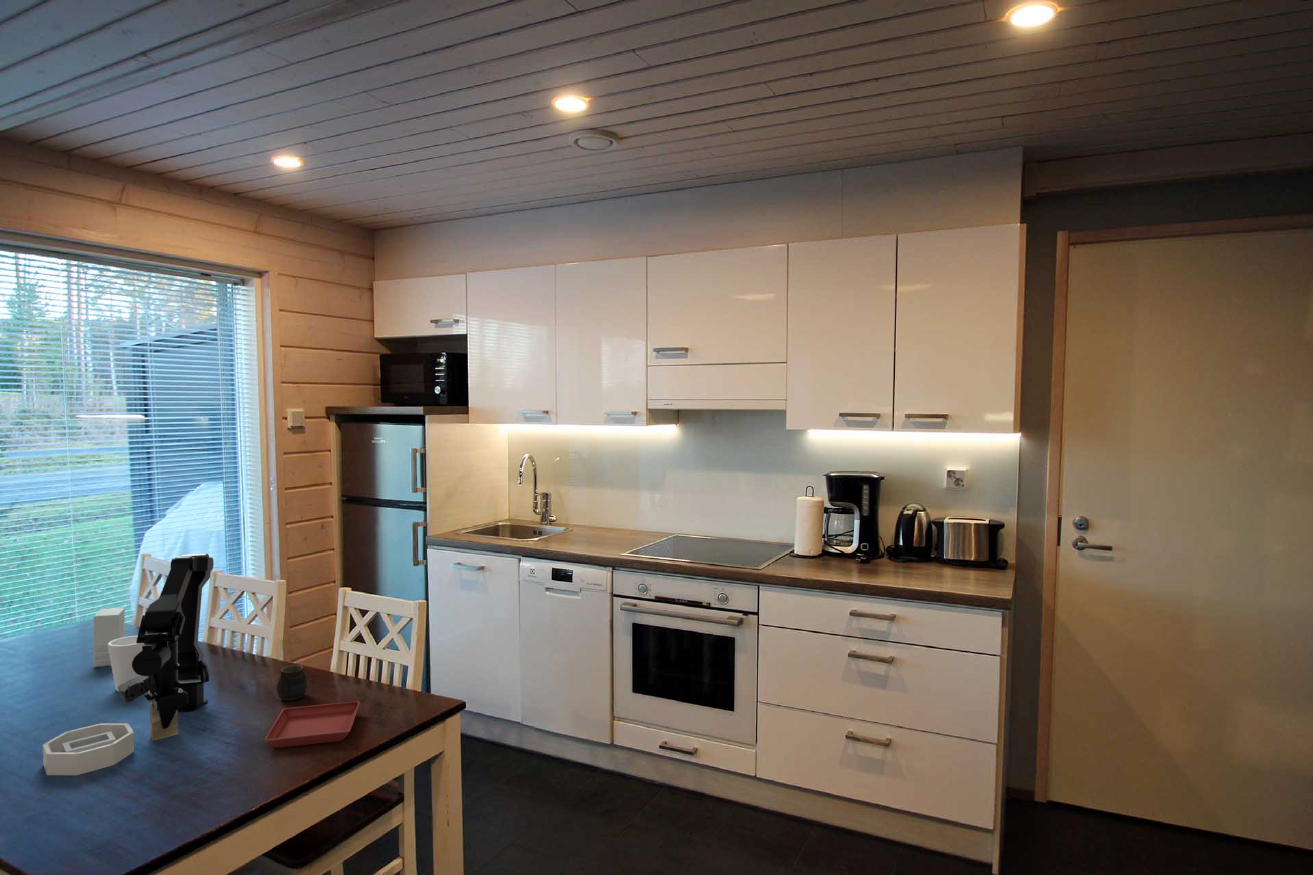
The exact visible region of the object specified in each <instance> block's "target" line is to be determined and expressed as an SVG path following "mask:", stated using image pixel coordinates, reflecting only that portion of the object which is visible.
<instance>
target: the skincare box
mask: <svg viewBox="0 0 1313 875" xmlns="http://www.w3.org/2000/svg"><path fill="white" fill-rule="evenodd" d="M125 610H126V609H125V607H123V606H122V607H114V608H102V609H99V610H98V612H97V613H96V614H94V615H93V668H100V667H107V666H111V661H110V655H109V653H108V643H109V642H111V641H113V640H115V639H119V638H123V637H126V636H125V635H126V632H125V627H126V626H125V624H126V623H125V620H126V618H125V614H126V612H125Z"/></svg>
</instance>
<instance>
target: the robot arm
mask: <svg viewBox="0 0 1313 875" xmlns="http://www.w3.org/2000/svg"><path fill="white" fill-rule="evenodd" d="M214 561H215V560H214V558H213V557H211V556H210V555H209V554H208V553H195V554H193V553H192V554H180V556H175V557H172V558H171V561H170V569H169V573H168V574H167V577H166V578H165V579H166V580H165V582H164V584H163V587H162V590H161V592H160V595H159V597H158V598H157V599H156V600H154V601H153V602H151V603H150V604H149V605H148V608H147V609H146V611H145V613H143V614H142V615H141V619H140V625H139V630H138V634H137V636H138V637H137V641H136V643H144V645H143V646H142V651H141V652H139V653H138V654H137V655H136V656H135V657H134V659H133V661H132V668H133V670H134V672H135V673H137V674H138V675H140V676H137V677H135V678H133V679H131V680H129V681H127V682H125V683H123V684H121V685H119V686H118V690H119V691H118V692H119V693H120V696H121V697H122V699H123V701H124V702H125V703H127V704H129V703H131V702H134V700H136V699H137V698H139V697H141V696H142V695H144V698H145V700H147V701H149V705H150V704H151V705H152V706H153V707H154V708H155V709H156V710H157V711H159V716H160V720H161V724H162V728H163V729H166V728H168V727H169V725H170V723H171V721H172V719H173V717H174V715H175V713H176V711H177V709H178V712H193V711H195V710H196V709H199V707H201V706H202V705H204V704H206V703H207V702H209V701H208V700H209V699H205V697H204V696H205V695H204V694H205V688H204V687H205V684H206V683H208V682H209V681H210V679H211V678H210V677H211V676H210V668H209V666H208V665H207V662H206V661H205V653H204V652H203V650H202V649H201V647H200V646H199V630H200V620H201V607H202V595H203V588H204V586H205V585H206V583H208V581H209V580H210V578H211V573H212V571H213V570H214V565H215V564H214ZM146 693H148V694H146ZM151 699H153V703H150V700H151Z"/></svg>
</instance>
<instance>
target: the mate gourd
mask: <svg viewBox="0 0 1313 875" xmlns="http://www.w3.org/2000/svg"><path fill="white" fill-rule="evenodd" d="M307 688H308V681H307V677H306V676H305V672H304V666H303V665H300V664H294V665H293V664H292V665H287V666H284V667H282V668H281V669H280V676H279V680H278V682H277V684H276V693H277V695H278V697H279V698H280V699H281V700H283V701H287V702H290V701H291V702H292V701H295V700H298V699H301V698H302V697H303V696H304V695H305V694H306V690H307Z"/></svg>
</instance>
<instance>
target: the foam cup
mask: <svg viewBox="0 0 1313 875" xmlns="http://www.w3.org/2000/svg"><path fill="white" fill-rule="evenodd" d="M137 637H138V635H129V636H125V637H123V638H119V639H115V640H113V641H111V642H109V643H108V653H109V655H110V661H111V665H110V666H111V670H112V671H111V672H112V677H113V681H114V688H115V691H117V692H119V690H118V686H119V685H121V684H123V683H125V682H127V681H129V680H131V679H133V678H135V677H137V676H140V675H138V674H137V673H135V672H134V670H133V668H132V661H133V659H134V657H135V656H136V655H137V654H138V653H139V652H141V651H142V646H143V645H144V643H136V641H137Z"/></svg>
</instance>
